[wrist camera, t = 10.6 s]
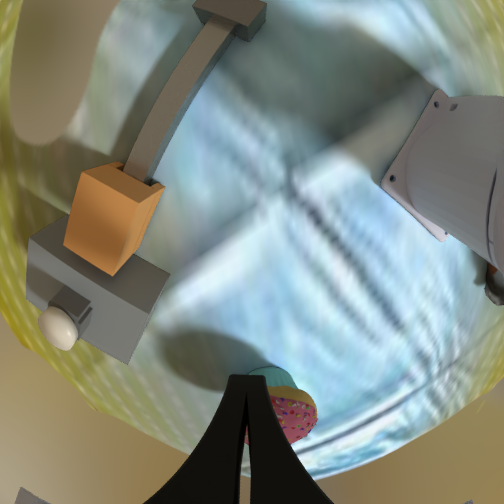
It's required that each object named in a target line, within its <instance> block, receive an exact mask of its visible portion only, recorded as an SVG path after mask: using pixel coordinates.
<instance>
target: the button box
mask: <svg viewBox="0 0 504 504" xmlns="http://www.w3.org/2000/svg"><path fill="white" fill-rule="evenodd" d="M68 220H69V215H68V214H67V215H66V216H64V217H62V218H60V219H59V220H57V221H55V222H53V223H52V224H50V225H48V226H47V227H45V228H43V229H42V230H40V231H38V232H37V233H35V234H34V235H32V236H30V237H29V242H28V254H27V273H26V299H27V300H28V301H29V302H31V303H32V304H33V305H35V306H36V307H37V308H38V309H40V310H41V311H42V312H44V311H45V310H46V309H47V308H48V307H50V306H53V307H57V308H59V309H61V310H62V311H64V312H65V313H66V314H67V315H68V316H69V317H70V318H71V319H72V320H74V321H73V322H74V324H75V326H76V328H77V330H78V338H77V340H79V339H80V338H82V339H83V340H85V341H86V342H88V343H90V344H91V345H93V346H95V347H96V348H98V349H100V350H101V351H103V352H105V353H106V354H108V355H110V356H112V357H114V358H115V359H117V360H119V361H121V362H123V363H125V364H127V365H128V363H129V361H130V359H131V357H132V355H133V353H134V351H135V349H136V346H137V344H138V342H139V340H140V338H141V336H142V334H143V332H144V330H145V328H146V326H147V324H148V322H149V319H150V317H151V315H152V313H153V310H154V308H155V306H156V304H157V302H158V300H159V297H160V295H161V293H162V291H163V289H164V287H165V285H166V283H167V281H168V279H169V276H170V274H168V273H167V272H165V271H163V270H161V269H159V268H157V267H156V266H154V265H152V264H150V263H148V262H147V261H145V260H143V259H141V258H140V257H138V256H136V255H134V254H132V255H131V256H130V257H129V259H128V260H127V261H126V262H125V263H124V264H123V265H122V266H121V267H120V269H119V270H118V271H117V272H116V273H115V274H114V275H113V276H111V275H109V274H108V273H106V272H104V271H103V270H101V269H100V268H98V267H96V266H95V265H93V264H91V263H90V262H88V261H87V260H85V259H84V258H82V257H81V256H79V255H77V254H76V253H74V252H73V251H71V250H70V249H68V248H67V247H65V246H64V245H63V243H64V238H65V233H66V229H67V224H68ZM75 342H76V341H75Z"/></svg>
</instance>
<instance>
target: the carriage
mask: <svg viewBox="0 0 504 504" xmlns="http://www.w3.org/2000/svg"><path fill="white" fill-rule="evenodd" d="M123 167H124V164H122V163H120V162H118V161H117V162H113V163H109V164H105V165H102V166H98V167H95V168H91V169H88V170H85V171H82V173H81V176H80V179H79V182H78V186H77V189H76V193H75V196H74V200H73V204H72V207H71V211H70V215H69V220H68V224H67V229H66V233H65V238H64V243H63V245H64V246H65V247H67V248H68V249H70V250H71V251H73V252H74V253H76V254H77V255H79V256H81V257H82V258H84V259H85V260H87V261H88V262H90V263H91V264H93V265H95V266H96V267H98V268H100V269H101V270H103V271H104V272H106V273H108V274H109V275H111V276H113V275H114V274H115V273H116V272H117V271H118V270H119V269H120V267H121V266H122V265H123V264H124V263H125V262H126V261H127V260H128V259H129V257H130V256H131V255H132V254H133V253H134V252H135V251H136V250H137V249H138V248H139V246H140V243H141V241H142V238H143V236H144V233H145V231H146V229H147V226H148V224H149V222H150V219H151V217H152V215H153V212H154V210H155V208H156V206H157V204H158V201H159V199H160V197H161V195H162V193H163V191H164V189H165V186H163V185H161V184H159V183H156V184H154V185H152V186H151V187H150V186H148V185H146V184H144V183H142V182H141V181H139V180H137V179H135V178H133V177H131V176H129V175H128V174H126V173H124V172H122V169H123Z"/></svg>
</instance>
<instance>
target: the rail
mask: <svg viewBox="0 0 504 504" xmlns="http://www.w3.org/2000/svg"><path fill="white" fill-rule="evenodd" d="M266 7H267V3H265V2H262V1H260V0H197V1H196V2H195V3H194V4H193V8H194V10H195V12H196V14H197V16H198V18H199V19H200V21H201V23H204V24H206V25H205V26H204V27H203V29H202V30H201V31H200V33H199V34H198V35H197V37H196V38H195V40H194V41H193V42H192V44H191V45H190V47H189V48H188V50H187V51H186V53H185V54H184V56H183V57H182V59H181V60H180V62H179V63H178V65H177V66H176V68H175V70H174V71H173V73H172V74H171V76H170V78H169V79H168V81H167V83H166V84H165V86H164V88H163V90H162V91H161V93H160V95H159V97H158V98H157V100H156V102H155V104H154V106H153V108H152V110H151V111H150V113H149V115H148V117H147V119H146V121H145V123H144V125H143V127H142V129H141V131H140V133H139V135H138V138H137V140H136V142H135V144H134V146H133V148H132V151H131V153H130V155H129V157H128V160H127V162H126V165H125V167H124V169H123V172H124V173H126V174H128V175H129V176H131V177H133V178H135V179H137V180H139V181H141V182H142V183H144V184H146V185H149V183H150V181H151V179H152V177H153V175H154V172H155V170H156V168H157V166H158V164H159V162H160V160H161V158H162V156H163V154H164V152H165V150H166V148H167V146H168V144H169V142H170V140H171V138H172V136H173V134H174V132H175V130H176V129H177V127H178V125H179V123H180V121H181V119H182V118H183V116H184V114H185V112H186V111H187V109H188V107H189V105H190V104H191V102H192V100H193V99H194V97H195V95H196V94H197V92H198V90H199V89H200V87H201V86H202V84H203V82H204V81H205V79H206V78H207V76H208V75H209V73H210V72H211V70H212V69H213V67H214V66H215V64H216V63H217V61H218V60H219V58H220V57H221V55H222V54H223V52H224V51H225V50H226V48H227V47H228V45H229V44H230V43H231V41H232V40H233V39H234V37H235V36H236V37H239V38H241V39H243V40H245V41H248V42H250V40H251V39H252V38H253V36H254V35H255V34H256V32H257V31H258V30H259V29H260V27H261V26H262V25H263V23H264V22H265V18H266Z"/></svg>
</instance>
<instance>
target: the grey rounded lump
mask: <svg viewBox="0 0 504 504" xmlns="http://www.w3.org/2000/svg"><path fill="white" fill-rule="evenodd" d="M484 289H485V293H486V296H488V297H489V299H490V300H491V301H492V302H493V303H494V304H496V305H498V306H499V305H500V306H501V305H504V276H503V274H502V272H501V271H500V270H498V269H497V268H496V267H494V266H493V265H492V264H491V263H489V262H488V265H487V272H486V286H485V288H484Z"/></svg>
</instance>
